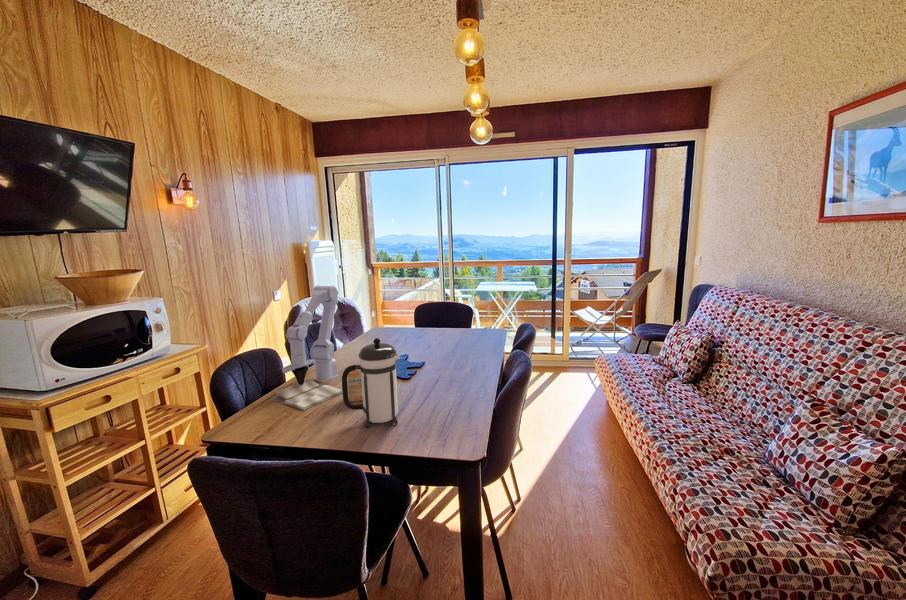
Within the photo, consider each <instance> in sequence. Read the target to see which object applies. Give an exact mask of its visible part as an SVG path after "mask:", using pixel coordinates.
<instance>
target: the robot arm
mask: <svg viewBox="0 0 906 600" xmlns="http://www.w3.org/2000/svg"><path fill="white" fill-rule="evenodd" d="M311 295H312V296H311V298H310V300H309V302H308V304H307V306H306V308H305V310H304V311H301V312H300V313H299V314H298V316H297V318H296V319H295V321H294V322H293V324H292V325H290V326H289V327H288V328H287V329H286V333H285V337H286V339H287V340H288V343H289V347H290V357H291V358H290V359H291V363H290V364H288V365H287V366H283V367H282V369H281V371H282V374H287V373H289V372H292V374H293V375H294V377H295V379H296V381H297V384H300V385H302V384H304V381H305V378H306V375H307V373H308V371H309V366H310V365H314V369H315V370H314V371H315V377H313V378H311V380H312V381H317V382H321V383H324V382H327V381H329V380H332V379H334V378H337V377H339V376H340V375H339V373H338V363H337V360H336V359H335V358H334V357H335V344H334V343H333V342H332V341H331V336H332V332H333V325H334V318H335V313H336V312H335V311H336V309H337V307H336V306H337V303H338V298H339V291H338V289H337V287H336V286H334V285H315V286H314V287H313V289H312V291H311ZM320 305H322V307H323V309H322V316H321V321H320V326H319V332H318V338H317V339H316V340H315V341H314V342H313V343H312V346H311V348H310V351H309V357H310V359H307V355H306V343H305V342H306V341H305V340H306V338H307V335H308V331H309V328H308V327H309V326H310V325H311V323H312V321H313V319H314V316H313V314H314V313H315V312H316V310H317V309H318V307H319V306H320Z"/></svg>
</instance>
